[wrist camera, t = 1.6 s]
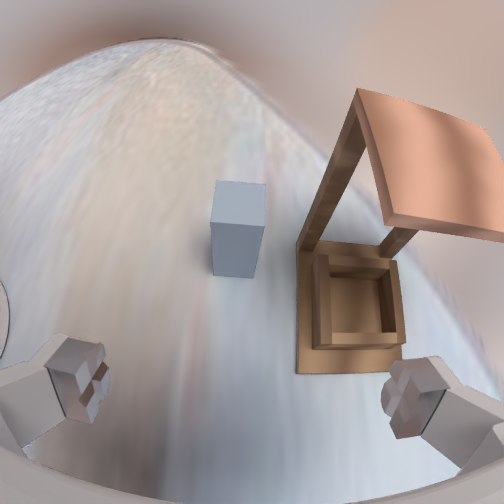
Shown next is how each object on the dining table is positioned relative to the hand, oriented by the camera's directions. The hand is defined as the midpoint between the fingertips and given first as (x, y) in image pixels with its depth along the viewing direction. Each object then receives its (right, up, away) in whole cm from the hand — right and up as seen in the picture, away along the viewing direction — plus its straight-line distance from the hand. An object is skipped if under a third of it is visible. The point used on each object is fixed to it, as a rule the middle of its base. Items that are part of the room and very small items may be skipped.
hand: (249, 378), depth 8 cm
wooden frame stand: (+10, -3, +23) cm, 26 cm away
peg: (-2, +3, +25) cm, 25 cm away
